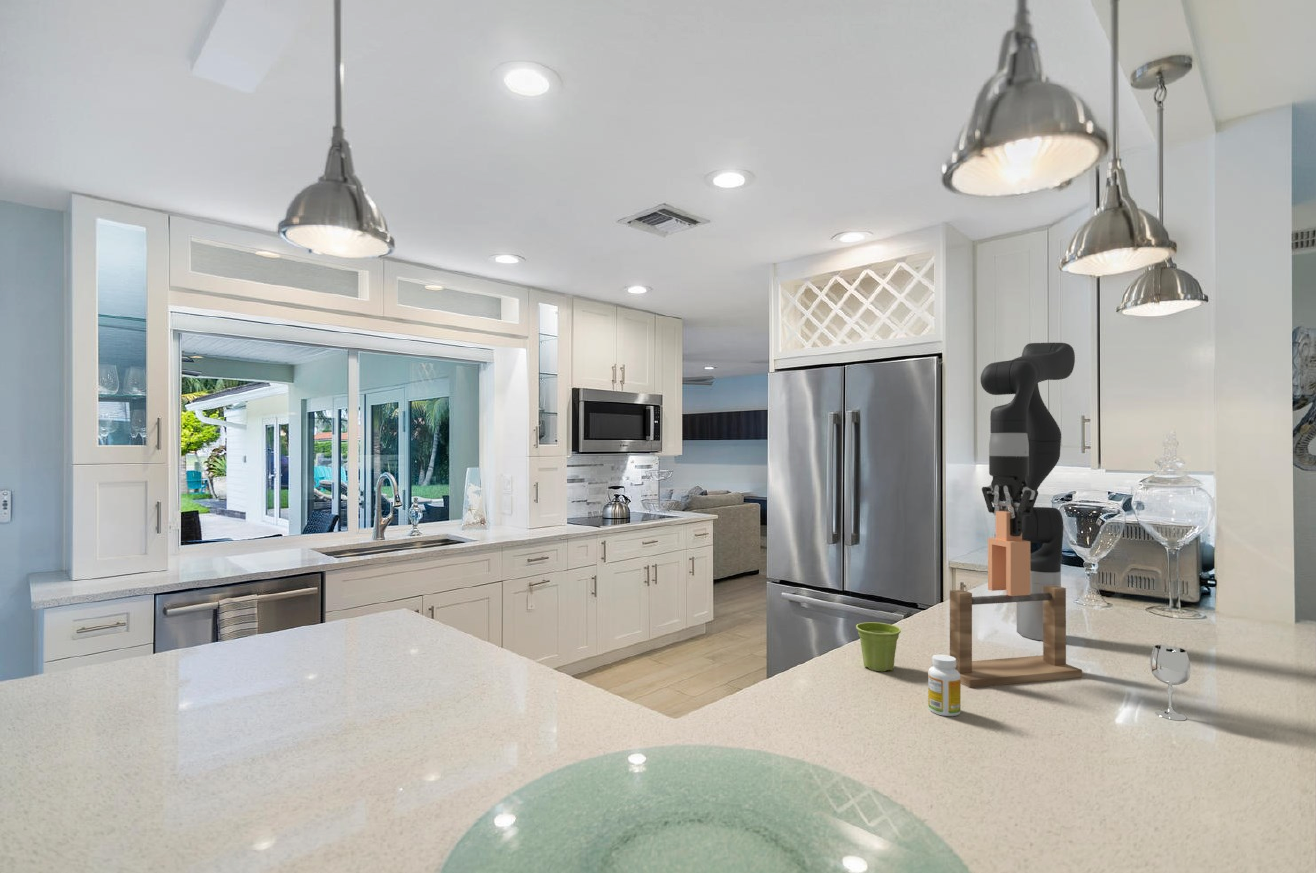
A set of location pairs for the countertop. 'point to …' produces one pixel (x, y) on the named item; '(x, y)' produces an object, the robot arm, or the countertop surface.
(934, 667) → the supplement bottle
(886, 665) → the plant pot
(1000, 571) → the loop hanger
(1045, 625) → the hook stand
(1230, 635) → the countertop surface
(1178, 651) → the wineglass
